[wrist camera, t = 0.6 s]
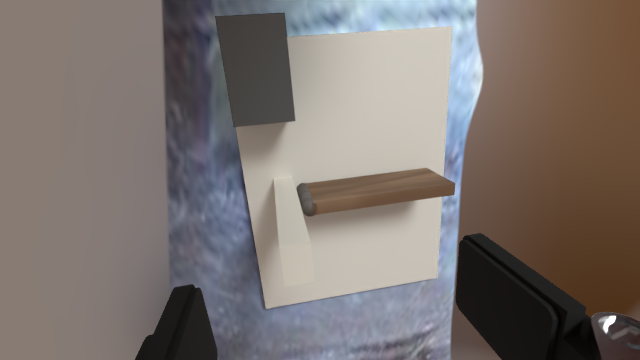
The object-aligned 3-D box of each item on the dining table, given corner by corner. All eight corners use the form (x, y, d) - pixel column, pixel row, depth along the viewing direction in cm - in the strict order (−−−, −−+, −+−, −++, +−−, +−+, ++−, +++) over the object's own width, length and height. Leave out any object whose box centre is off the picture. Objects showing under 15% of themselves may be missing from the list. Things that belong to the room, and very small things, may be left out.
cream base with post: (222, 42, 28) (179, 5, 14) (446, 27, 31) (594, -14, 17) (265, 303, 38) (266, 434, 24) (433, 273, 41) (520, 373, 27)
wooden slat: (296, 183, 32) (301, 203, 27) (426, 166, 34) (455, 182, 29) (297, 195, 33) (303, 217, 28) (426, 178, 35) (454, 195, 30)
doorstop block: (224, 28, 27) (215, 16, 22) (280, 25, 28) (284, 12, 23) (239, 118, 30) (233, 127, 24) (290, 113, 30) (295, 121, 25)
